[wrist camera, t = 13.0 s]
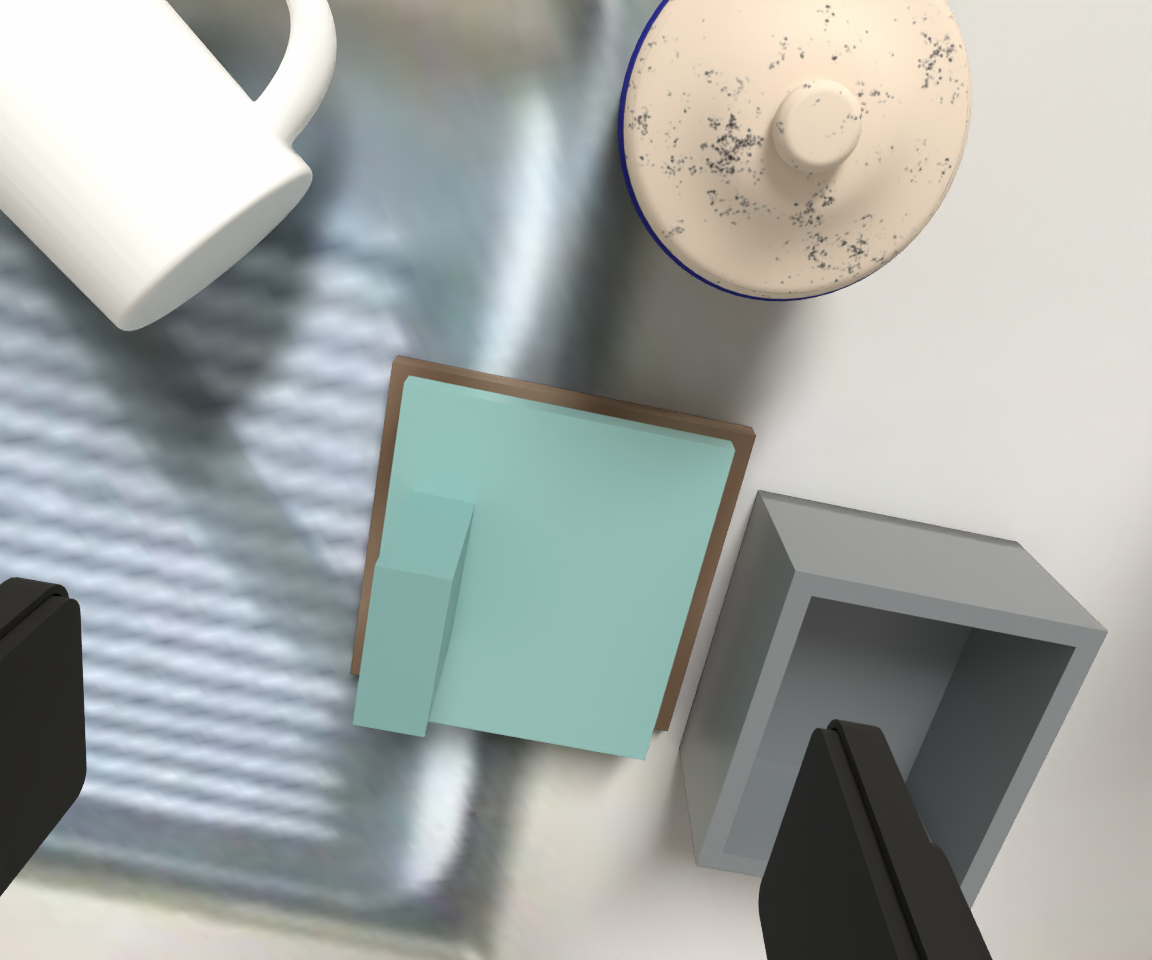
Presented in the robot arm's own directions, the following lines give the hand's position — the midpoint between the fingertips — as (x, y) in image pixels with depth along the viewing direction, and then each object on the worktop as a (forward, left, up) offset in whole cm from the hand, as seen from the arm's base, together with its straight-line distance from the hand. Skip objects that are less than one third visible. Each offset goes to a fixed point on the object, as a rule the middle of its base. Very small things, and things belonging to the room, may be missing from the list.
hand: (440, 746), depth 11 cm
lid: (-2, +9, -23) cm, 25 cm away
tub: (-15, +11, -24) cm, 31 cm away
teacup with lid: (-6, -10, -25) cm, 27 cm away
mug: (+13, -6, -25) cm, 29 cm away
